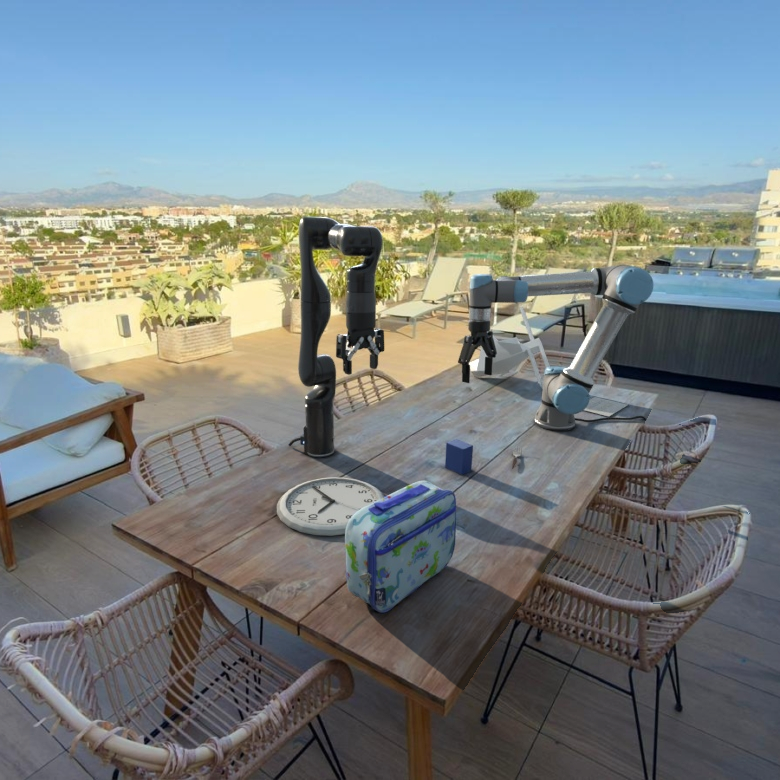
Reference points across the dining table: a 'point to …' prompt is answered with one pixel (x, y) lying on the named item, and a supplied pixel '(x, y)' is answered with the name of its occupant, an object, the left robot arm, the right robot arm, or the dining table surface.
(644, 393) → the dining table surface
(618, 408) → the invitation card
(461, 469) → the block
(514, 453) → the fork
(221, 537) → the dining table surface
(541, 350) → the white plastic object
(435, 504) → the lunch box
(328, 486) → the wall clock
